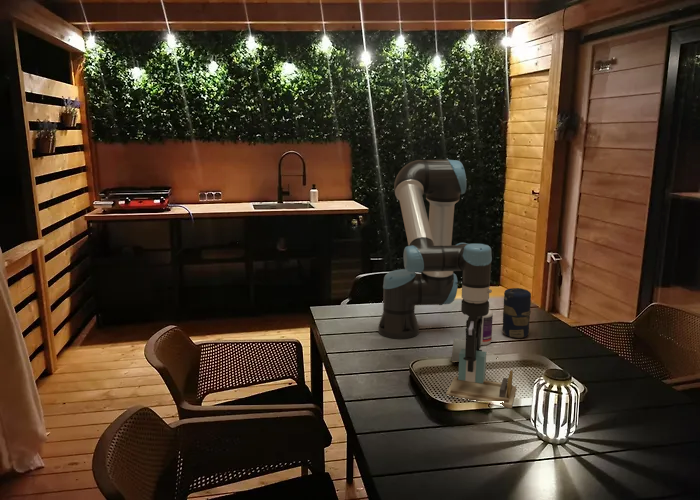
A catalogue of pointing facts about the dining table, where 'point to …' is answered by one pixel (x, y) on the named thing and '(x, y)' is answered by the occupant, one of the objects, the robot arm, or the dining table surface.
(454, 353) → the grey rectangular block
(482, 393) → the wooden tray
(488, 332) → the pill bottle
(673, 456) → the dining table surface
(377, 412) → the dining table surface
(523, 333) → the canister
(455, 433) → the dining table surface
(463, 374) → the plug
